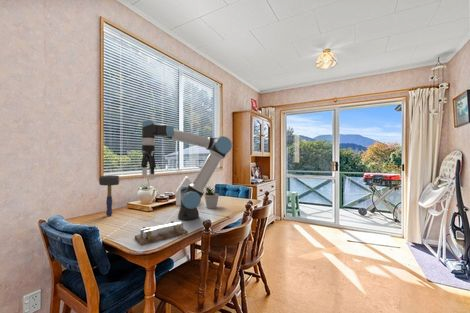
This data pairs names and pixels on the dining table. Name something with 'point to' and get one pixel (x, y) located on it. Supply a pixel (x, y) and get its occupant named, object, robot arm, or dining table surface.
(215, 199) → the potted plant
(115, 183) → the rubber mallet
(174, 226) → the grey long bar
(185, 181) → the milk carton
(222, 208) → the dining table surface
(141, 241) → the tool rack
